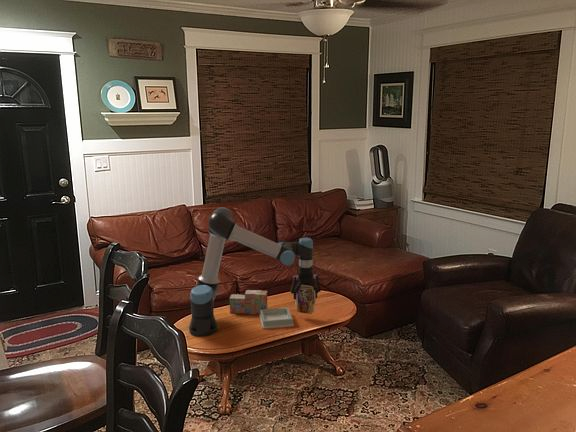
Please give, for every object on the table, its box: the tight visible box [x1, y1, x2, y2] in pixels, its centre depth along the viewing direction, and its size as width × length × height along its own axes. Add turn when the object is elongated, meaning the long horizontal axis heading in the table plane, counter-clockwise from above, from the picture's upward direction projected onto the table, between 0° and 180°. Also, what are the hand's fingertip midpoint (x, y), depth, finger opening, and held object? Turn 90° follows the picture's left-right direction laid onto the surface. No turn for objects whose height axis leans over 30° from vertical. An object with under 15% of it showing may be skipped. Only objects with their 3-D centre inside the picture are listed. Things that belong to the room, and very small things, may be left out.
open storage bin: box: [258, 307, 295, 329], centre depth 278 cm, size 17×17×4 cm
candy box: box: [296, 284, 315, 315], centre depth 279 cm, size 9×4×15 cm, turn 71°
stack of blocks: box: [228, 289, 268, 315], centre depth 290 cm, size 21×6×12 cm, turn 84°
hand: (305, 304), depth 280 cm, fingers closed on candy box, 9 cm apart
